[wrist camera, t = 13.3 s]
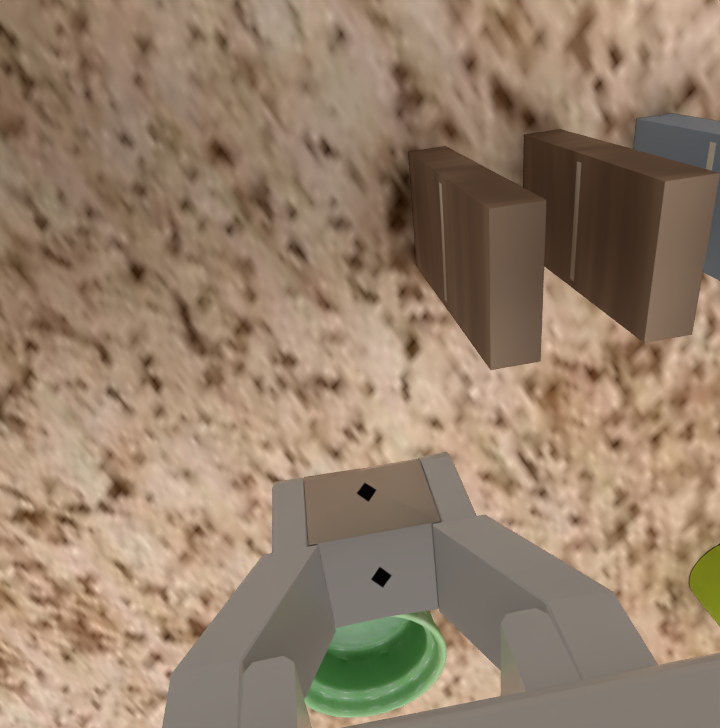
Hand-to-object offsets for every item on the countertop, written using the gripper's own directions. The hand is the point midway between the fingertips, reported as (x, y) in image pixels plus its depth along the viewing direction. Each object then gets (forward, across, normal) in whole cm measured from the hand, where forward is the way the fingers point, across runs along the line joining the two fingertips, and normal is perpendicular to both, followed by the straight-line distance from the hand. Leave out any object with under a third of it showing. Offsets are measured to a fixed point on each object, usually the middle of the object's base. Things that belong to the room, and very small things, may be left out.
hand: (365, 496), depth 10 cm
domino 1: (+18, -5, 0) cm, 18 cm away
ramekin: (+18, +1, +24) cm, 30 cm away
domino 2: (+18, -10, 0) cm, 20 cm away
